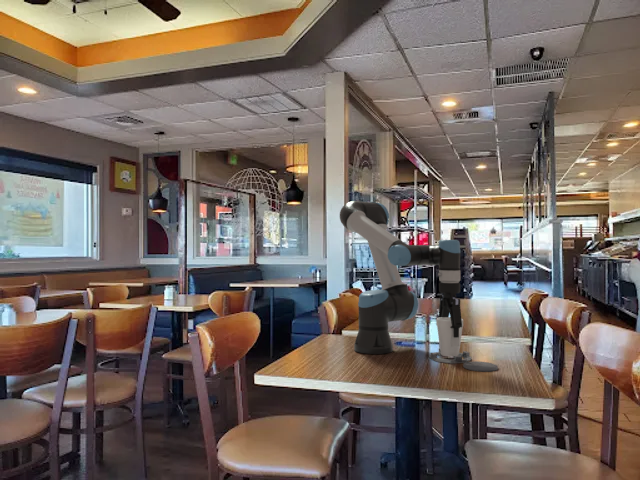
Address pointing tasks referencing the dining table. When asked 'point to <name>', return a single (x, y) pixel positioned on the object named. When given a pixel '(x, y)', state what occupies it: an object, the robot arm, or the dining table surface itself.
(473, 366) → the coaster
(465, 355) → the collar
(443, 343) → the foam cup
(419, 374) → the dining table surface
